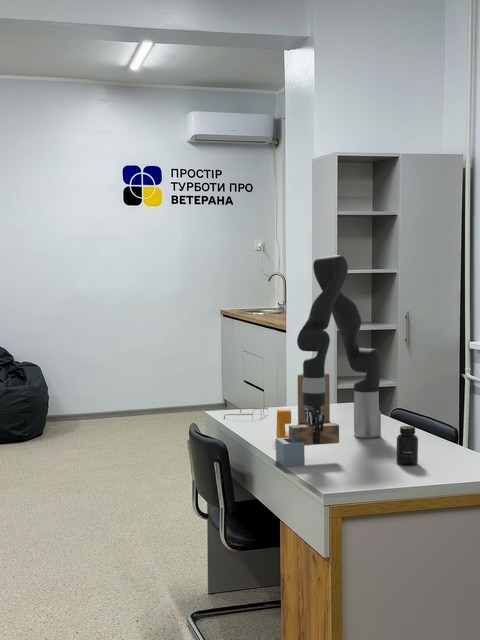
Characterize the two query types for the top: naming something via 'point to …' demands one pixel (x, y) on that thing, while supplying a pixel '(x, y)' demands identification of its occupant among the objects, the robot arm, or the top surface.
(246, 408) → the eyeglasses
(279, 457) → the grey u-channel
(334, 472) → the top surface
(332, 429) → the rail
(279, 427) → the bracket
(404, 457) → the supplement bottle
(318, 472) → the top surface
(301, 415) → the wooden block
